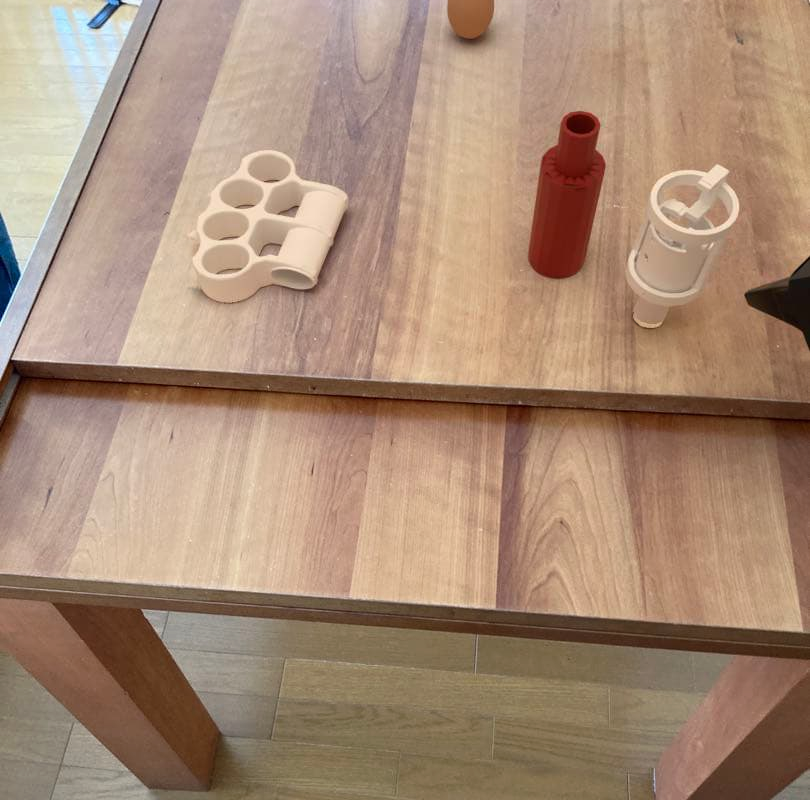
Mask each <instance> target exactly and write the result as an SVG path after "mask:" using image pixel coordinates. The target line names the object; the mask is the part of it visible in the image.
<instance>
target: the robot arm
mask: <svg viewBox="0 0 810 800" xmlns="http://www.w3.org/2000/svg"><path fill="white" fill-rule="evenodd" d="M743 297H744V298H745V299H744V300H745V301H746V304H747V305H748V306H749V307H750V308H752V309H755V310H756V311H757V310H758V311H759V312H761V313H763V314H766V315H768V316H770V317H773V318H775V319H777V320H779V321H781V322H784V323H785V324H788V325H790V326H791V327H793V328H795V329H797V330H798V331H800V332H801V333H802V336H803V338H804V340H805V343H806V345H807V348H808V350H809V352H810V255H808V257H806V258H805V260H803V261H802V262H801V264H799V266H798V267H797V268H795V269H794V270H793V272H792V273H791V274H790V275H789V276H788V277H784V278H782V279H778V280H774V281H771V282H768V283H764V284H762V285H759V286H756V287H753V288H750V289H748V290H746V291H745V293H744V294H743Z"/></svg>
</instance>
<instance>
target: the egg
mask: <svg viewBox="0 0 810 800" xmlns="http://www.w3.org/2000/svg"><path fill="white" fill-rule="evenodd" d="M446 7H447V9H446V10H447V11H446V13H447V19H448V22H449V24H450V26H451V28H452V29H453V31H454V32H455V33H456V34H457V35H459V36H460V37H461V38H464V39H470V40H471V39H476V38H478V37H479V36H481V35H482V34H483V33H485V32H486V31H487V29H488V28H489V26H490V24H491V23H492V20H493V18H494V13H495V0H447V5H446Z"/></svg>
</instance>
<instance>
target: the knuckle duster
mask: <svg viewBox="0 0 810 800" xmlns="http://www.w3.org/2000/svg"><path fill="white" fill-rule="evenodd" d="M269 181H276V182H269ZM206 196H207V198H208V199H209V204H208V206H207V207H206V209H205V210H204V211H203V212H202V213H201V214H199V215H198V216H197V222H196V229H194V230H193V231H191V232H189V233H188V234H186V235H185V238H188V239H190V240H191V241H194V242H195V243H198V244H199V247H198V250H197V251H196V253H195V254H194V256H193V257H192V258H191V262H192V263H191V264H192V266H193V269H194V272H195V275H196V277H197V280H198V283H199V285H200V288H201V290H202V291H203V293H204V294H205V295H206V297H208V298H210V299H211V300H213V301H216V302H219V303H224V302H225V304H231V303H232V302H233V303H238V301H239V302H241V301H244V300H246V299H249V298H250V297H252V296H253V295H254V294H256V293H257V292H258V290H260V289H261V288H263V287H267V286H270V285H275V286H280V287H286V288H290V289H294V290H309V289H312V288H314V286H316V285H317V283H318V281H319V280H318V277H319V275H320V272H321V270H322V268H323V265H324V262H325V260H326V257H327V256H328V253H329V250H330V248H331V247H333V245H334V239H335V236H336V234H337V231H338V229H339V227H340V224H341V222H342V219H343V217H344V214H345V211H347V210H348V208H349V202H350V198H349V196H348V194H347V193H346V192H345V191H343V190H342V189H341V188H338V187H336V186H334V185H331V184H327V183H321V182H317V181H312V180H305V179H302V178H301V177H300V176H299V175H298V172H297V168H296V164H295V163H294V160H292V159H291V157H289V156H288V155H287V154H285V153H284V152H281V151H277V150H273V149H264V150H257V151H253V152H252V153H249V154H247V155H245V156H244V157H243V158H242V159H241V163H240V166H239V168H238V169H237V171H235V173H233V174H232V175H231V176H229V177H227V178H225V179H222V180H221V181H220V182H219V183H218V184H217V185H216V186H215V187H214V188H213V189H212V191H210V193H207V194H206ZM246 205H248V206H249V205H250V206H251V207H249V208H237V207H241V206H246ZM293 207H298V209H297V211H296V213H295V215H294V217H292V216H287V215H282V214H280V213H282V212H286V211H288V210H290V209H292V208H293ZM232 237H233V238H234V237H237V238H234V239H233V238H232ZM225 238H232V239H225ZM269 244H275V245H280V246H281V247H280V249H279V252H278V254H277V255H274V254H266V255H263V256H260V254H261V251H262V250H263V248H264V247H265V246H267V245H269ZM233 269H240V270H238V271H237V272H233V273H225V274H223V273H221V272H223V271H226V270H233ZM219 273H221V274H219Z"/></svg>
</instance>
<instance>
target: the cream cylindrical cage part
mask: <svg viewBox="0 0 810 800" xmlns="http://www.w3.org/2000/svg"><path fill="white" fill-rule="evenodd" d="M729 173H730V171H729V169H727V168H725V167H724V166H722V165H720V164H718V163H716V164H715V165H714V166H713V167H712V168H711V169H710V170H709V171H708V172H705V171H701V170H695V169H681V170H677V171H673V172H670V173H667V174H665V175H664V176H662V177H661V178H660V179H658V180H657V181H656V183H655V184H654V185H653V187H652V189H651V191H650V195H649V198H648V201H647V204H646V209H645V212H644V215H643V218H642V221H641V224H640V227H639V230H638V232H637V236H636V238H635V242H634V244H633V247H632V249H631V251H630V253H629V256H628V259H627V262H626V265H625V279H626V281H627V284H628V285H629V287H630V288H631V290H632V291H633V293H635V294H636V295H637V296H638V297H637V299H636V302H635V305H634V307H633V309H632V313H633V312H634V316H635V317H636V318H637V319H638V320H640V321H641V322H644V323H647V324H657V323H660V322H662V321H663V320H664V319H665V320H666V317H667V316H668V315H667V314H668V313H669V310H670V307H679V306H682V305H686V304H689V303H690V302H692V301H694V300H695V299H696V298H698V296H699V295H700V294H701V293H702V291H703V289H704V288H705V285H706V283H707V281H708V279H709V277H710V274H711V272H712V270H713V268H714V267H715V264H716V263H717V260H718V257H719V256H720V254H721V251H722V250H723V248H724V245H725V243H726V241H727V239H728V237H729V235H730V233H731V230H732V229H733V227H734V224H735V222H736V220H737V218H738V216H739V213H740V201H739V198H738V195H737V194H736V192H735V191H734V189H733V188H732V187H731V186H730V185H729V184H728V183H727V182H726V180H727V178H728V176H729ZM679 186H693V187H695V188H696V189H697V190H699V191H700V192H701V193H700V195H699V197H698V199H697V201H695V203H693V204H692V205H691V206H690V207H688V206H687V205H686V204H685V203H684V202H681V201H678V200H677V198H670V199H668V200H665V201H664V202H662V203H661V201H662V197H663V195H664V192H665V191H666V190H668V189H671V188H673V187H679ZM718 199H719V200H720V201H721V202H722V203H723V204H724V206H725V208H726V211H727V216H728V219H727V220H726V221H725V222H724V223H722V224H720V225H719V226H716V227H715V226H714V224H713V222H712V220H710V219H709V217H707V216H706V214H707V212H710V211H711V209H713V208H714V207H715V206H716V203H717V201H718ZM671 216H672V217H673V218H675V219H676V220H679V221H681V220H682V219H683V218H684V217H685V218H686V219H687V222H686V223H685V227H683V226H680V225H679V224H677V223H674V222H673V221H671V220H670V218H671ZM665 320H664V321H665Z"/></svg>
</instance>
